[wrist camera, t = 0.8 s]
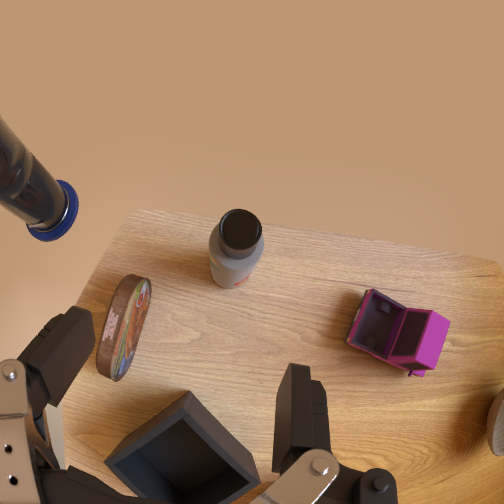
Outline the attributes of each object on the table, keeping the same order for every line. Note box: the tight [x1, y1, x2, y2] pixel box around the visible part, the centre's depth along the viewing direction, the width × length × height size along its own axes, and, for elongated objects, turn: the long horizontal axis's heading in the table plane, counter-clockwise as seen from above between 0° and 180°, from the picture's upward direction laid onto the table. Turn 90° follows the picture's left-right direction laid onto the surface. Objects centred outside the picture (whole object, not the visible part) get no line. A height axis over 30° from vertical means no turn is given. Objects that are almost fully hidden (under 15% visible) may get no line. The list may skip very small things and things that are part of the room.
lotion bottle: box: [209, 209, 264, 289], centre depth 36 cm, size 6×6×20 cm
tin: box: [96, 274, 151, 382], centre depth 38 cm, size 15×3×8 cm, turn 163°
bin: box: [104, 391, 261, 504], centre depth 33 cm, size 14×14×10 cm
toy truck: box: [344, 289, 450, 377], centre depth 41 cm, size 11×16×10 cm
